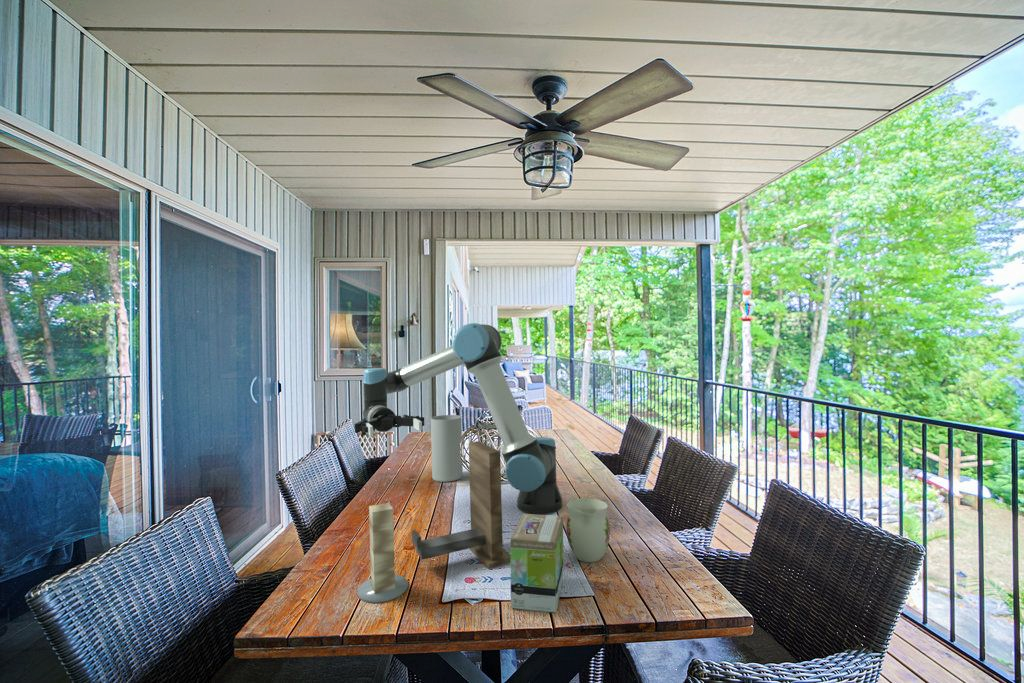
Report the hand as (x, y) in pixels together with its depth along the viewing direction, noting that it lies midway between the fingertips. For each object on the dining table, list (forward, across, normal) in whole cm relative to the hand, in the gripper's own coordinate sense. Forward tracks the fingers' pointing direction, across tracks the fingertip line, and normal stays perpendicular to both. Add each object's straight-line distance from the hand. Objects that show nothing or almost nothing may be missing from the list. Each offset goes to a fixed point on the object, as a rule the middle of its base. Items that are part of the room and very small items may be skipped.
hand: (396, 428), depth 129 cm
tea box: (+41, -21, -32) cm, 56 cm away
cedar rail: (+22, +9, -31) cm, 39 cm away
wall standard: (+18, -11, -32) cm, 38 cm away
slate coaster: (+22, +9, -32) cm, 40 cm away
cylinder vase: (-53, -32, -32) cm, 70 cm away
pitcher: (+32, -41, -32) cm, 61 cm away
